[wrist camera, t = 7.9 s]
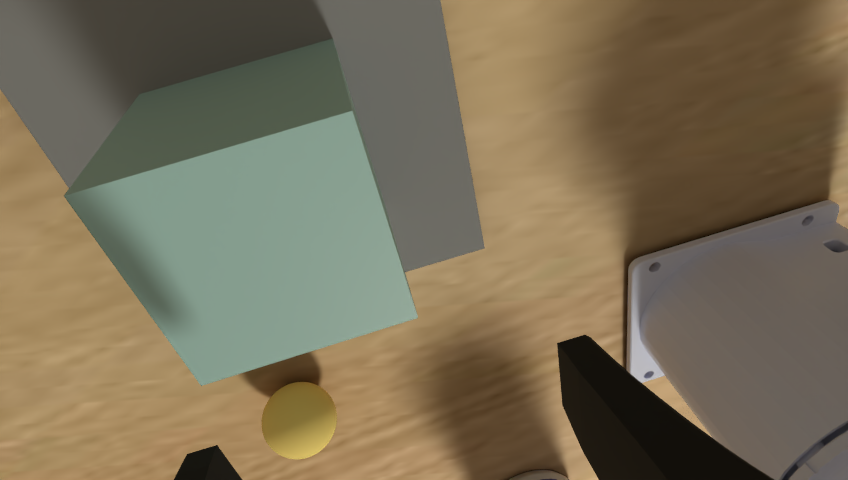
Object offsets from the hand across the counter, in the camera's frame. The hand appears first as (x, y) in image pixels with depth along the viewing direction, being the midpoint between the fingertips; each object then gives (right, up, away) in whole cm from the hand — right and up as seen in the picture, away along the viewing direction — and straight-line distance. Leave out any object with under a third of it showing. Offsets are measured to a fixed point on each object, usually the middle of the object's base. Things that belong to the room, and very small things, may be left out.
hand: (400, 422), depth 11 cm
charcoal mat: (-4, +7, +6) cm, 10 cm away
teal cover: (-4, +7, +5) cm, 9 cm away
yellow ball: (-5, -3, +12) cm, 13 cm away
